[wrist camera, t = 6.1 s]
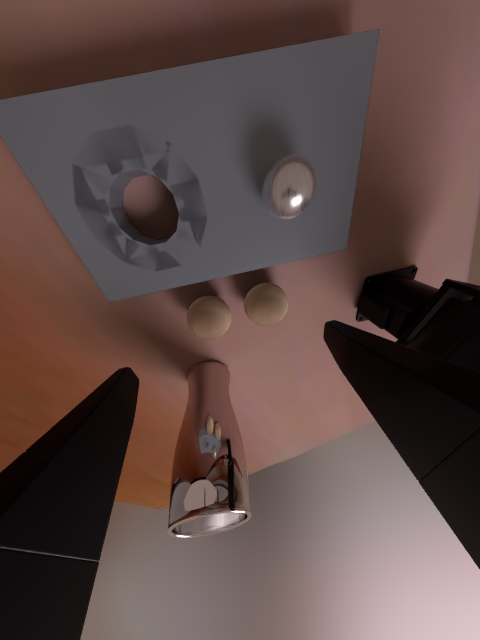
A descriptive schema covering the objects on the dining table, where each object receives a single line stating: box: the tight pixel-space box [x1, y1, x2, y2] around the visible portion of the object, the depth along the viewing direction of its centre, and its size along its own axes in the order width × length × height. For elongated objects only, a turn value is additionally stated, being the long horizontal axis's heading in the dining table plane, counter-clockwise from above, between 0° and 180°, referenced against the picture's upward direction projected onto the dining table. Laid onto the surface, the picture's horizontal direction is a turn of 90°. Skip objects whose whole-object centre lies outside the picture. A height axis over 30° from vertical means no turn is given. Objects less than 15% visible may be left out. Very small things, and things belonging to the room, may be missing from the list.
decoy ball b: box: [187, 296, 231, 339], centre depth 19 cm, size 4×4×4 cm
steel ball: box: [262, 154, 317, 219], centre depth 12 cm, size 4×4×4 cm
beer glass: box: [167, 361, 251, 538], centre depth 21 cm, size 7×7×15 cm
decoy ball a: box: [244, 283, 288, 326], centre depth 19 cm, size 4×4×4 cm
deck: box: [0, 29, 379, 302], centre depth 14 cm, size 22×12×2 cm, turn 100°
